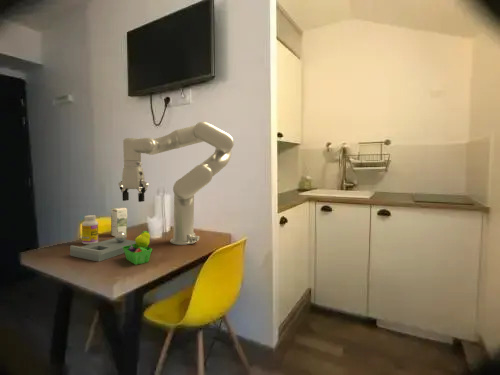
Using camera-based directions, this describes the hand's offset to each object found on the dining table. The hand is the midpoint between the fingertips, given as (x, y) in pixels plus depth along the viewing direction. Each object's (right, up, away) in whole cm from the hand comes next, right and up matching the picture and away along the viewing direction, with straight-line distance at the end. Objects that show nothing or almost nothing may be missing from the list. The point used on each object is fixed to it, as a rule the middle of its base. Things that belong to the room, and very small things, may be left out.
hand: (133, 201), depth 134 cm
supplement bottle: (-20, -20, 0) cm, 28 cm away
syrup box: (-14, -19, +15) cm, 28 cm away
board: (-6, -21, -13) cm, 25 cm away
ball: (-3, -16, -7) cm, 17 cm away
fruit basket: (+12, -23, -23) cm, 34 cm away
